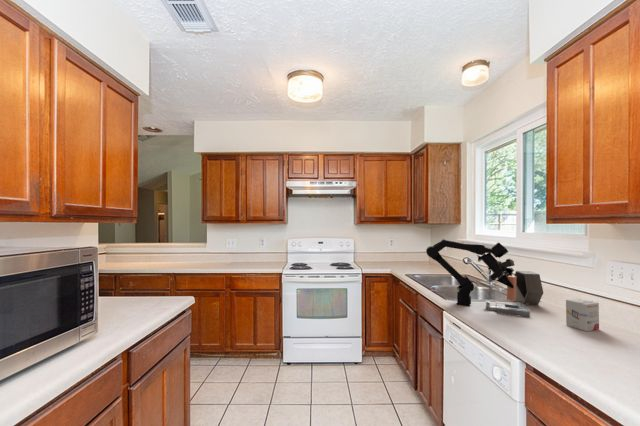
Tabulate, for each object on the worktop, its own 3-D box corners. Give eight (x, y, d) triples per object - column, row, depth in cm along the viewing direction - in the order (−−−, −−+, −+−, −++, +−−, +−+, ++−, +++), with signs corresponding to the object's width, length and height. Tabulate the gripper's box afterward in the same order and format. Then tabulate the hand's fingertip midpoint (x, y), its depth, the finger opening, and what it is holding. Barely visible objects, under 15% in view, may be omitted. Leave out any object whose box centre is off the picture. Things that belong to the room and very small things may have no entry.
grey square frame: (496, 312, 159) (496, 307, 159) (495, 306, 171) (495, 301, 171) (529, 317, 152) (529, 312, 152) (526, 309, 165) (526, 305, 165)
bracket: (485, 309, 164) (485, 301, 164) (485, 308, 166) (485, 300, 166) (496, 310, 162) (496, 303, 162) (496, 309, 164) (496, 302, 164)
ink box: (578, 323, 144) (578, 297, 144) (599, 329, 136) (599, 302, 136) (565, 324, 142) (565, 299, 142) (586, 331, 134) (586, 304, 134)
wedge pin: (507, 299, 161) (507, 276, 162) (509, 298, 164) (510, 275, 164) (513, 300, 159) (513, 277, 159) (516, 299, 162) (516, 276, 162)
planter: (509, 288, 192) (518, 263, 181) (523, 289, 191) (532, 264, 180) (520, 310, 178) (531, 284, 167) (535, 311, 177) (546, 285, 166)
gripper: (496, 255, 159) (521, 280, 150) (510, 252, 171) (533, 275, 162) (480, 268, 165) (503, 293, 156) (494, 265, 177) (516, 288, 168)
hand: (514, 287), depth 161 cm, fingers closed on wedge pin, 4 cm apart
